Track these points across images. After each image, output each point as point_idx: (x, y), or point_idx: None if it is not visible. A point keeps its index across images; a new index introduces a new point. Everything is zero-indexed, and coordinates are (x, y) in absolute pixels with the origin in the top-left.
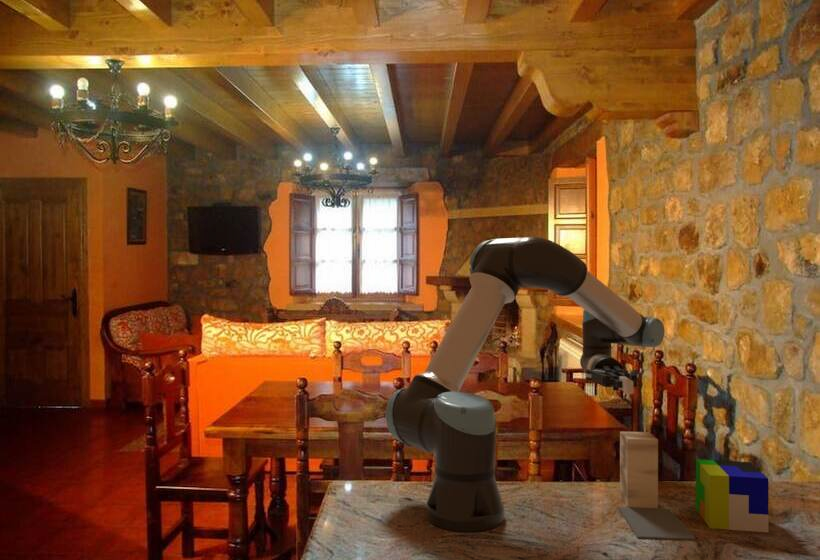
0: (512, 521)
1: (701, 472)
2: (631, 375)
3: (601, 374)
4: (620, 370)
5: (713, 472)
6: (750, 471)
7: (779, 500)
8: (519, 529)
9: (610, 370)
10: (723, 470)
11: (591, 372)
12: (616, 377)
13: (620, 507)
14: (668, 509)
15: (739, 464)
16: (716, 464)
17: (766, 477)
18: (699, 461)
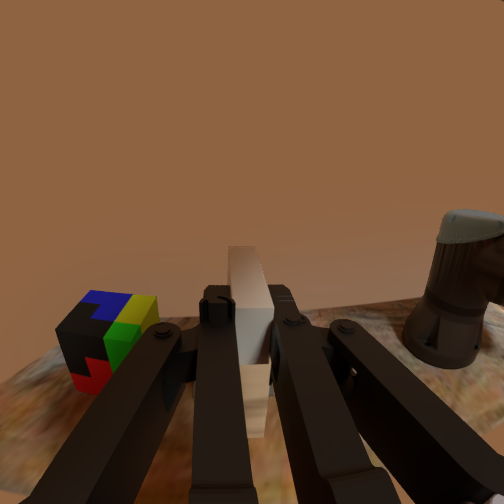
0: (395, 344)
1: (144, 329)
2: (157, 378)
3: (391, 362)
4: (217, 488)
5: (144, 302)
6: (90, 304)
7: (6, 413)
8: (381, 332)
9: (341, 475)
10: (124, 306)
11: (493, 459)
12: (288, 314)
13: (269, 393)
14: (194, 393)
15: (79, 323)
16: (114, 323)
17: (90, 291)
18: (132, 333)
